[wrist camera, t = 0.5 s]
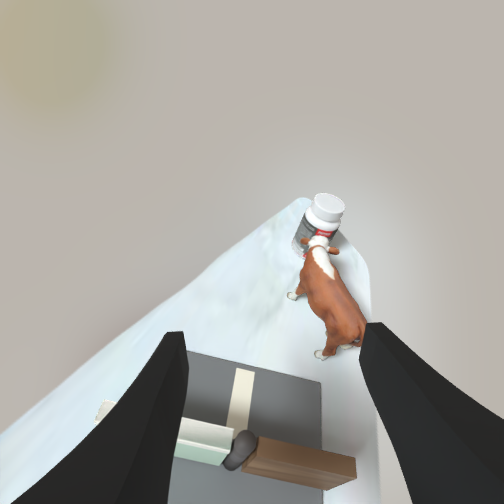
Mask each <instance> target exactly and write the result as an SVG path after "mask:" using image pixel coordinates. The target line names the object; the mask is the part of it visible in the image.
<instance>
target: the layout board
mask: <svg viewBox="0 0 504 504" xmlns="http://www.w3.org/2000/svg"><path fill="white" fill-rule="evenodd" d="M187 357H188V363H189V377H188V387H187V395H186V400H185V405H184V410H183V415H182V417H184V418H188V419H193V420H197V421H202V422H206V423H210V424H215V425H219V426H224V427H228V428H233V429H234V431H233V437H232V442H233V441H234V439H235V438H236V436H237V435H238V433H239V432H240V431H242V430H249V431H251V432H252V433H253V434H254V435H255V437H256V439H257V438H258V437H259V436H261V437H265V438H269V439H274V440H278V441H283V442H287V443H292V444H296V445H300V446H305V447H309V448H314V449H318V450H321V400H320V383H319V382H315V381H311V380H306V379H302V378H298V377H294V376H290V375H285V374H281V373H277V372H273V371H269V370H265V369H260V368H256V367H252V366H248V365H244V364H239V363H235V362H231V361H227V360H223V359H218V358H214V357H210V356H206V355H202V354H198V353H193V352H189V351H187ZM231 444H232V443H231ZM241 469H242V464H241V465H240V466H239V467H238V468H237V469H236V470H234V471H228V470H227V469H225V467H224V465H223V461H222V463H221V464H220V466H216V465H212V464H207V463H203V462H198V461H193V460H189V459H184V458H180V457H175V456H174V458H173V464H172V471H171V479H170V487H169V495H168V504H322V489H317V488H313V487H308V486H303V485H299V484H294V483H290V482H285V481H281V480H276V479H271V478H267V477H262V476H258V475H253V474H249V473H244V472H241Z"/></svg>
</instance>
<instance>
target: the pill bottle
mask: <svg viewBox="0 0 504 504" xmlns="http://www.w3.org/2000/svg"><path fill="white" fill-rule="evenodd" d="M344 210H345V205H344V203H343V202H342V201H341V200H340V199H339V198H338V197H336V196H334V195H331V194H328V193H320V194H317V195H316V196H315V198H314V200H313V202H312V204H311V206H309V207H308V208H307V209H306V211H305V213H304V216H303V218H302V220H301V222H300V225H299V227H298V229H297V232H296V234H295V236H294V238H293V241H292V248H293V250H294V252H295V253H296V254H297V255H298V256H299V257H301V258H302V259H305V258H306V255H307V252H308V250H309V245H303V244H301V243H300V239H301V238H305V237H306V238H309V239H310V240H311V239H312V237H313V236H316V235H317V236H320V235H321V236H324V237H326V238H327V239H328V241H329V244H330V242H331V240H332V238H333V237H334V235H335V233H336V231H337V230H338V228H339V226H340V218H341V217H342V215H343V212H344Z"/></svg>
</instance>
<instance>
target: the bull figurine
mask: <svg viewBox="0 0 504 504" xmlns="http://www.w3.org/2000/svg"><path fill="white" fill-rule="evenodd" d="M300 243H301V244H303V245H309V250H308V252H307V255H306V258H305V262H304V266H303V268H302V270H301V271H300V283H299V285H298V287H297V288H296V289H295V291H294V292H289V293H288V294H287V297H288V298H289V299H291V300H296V299H297V296H298V295H301V294H303V293H307V297H308V304H309V305H310V307H311V309H312V311H313V312H314V313H315V314H316V315H317V316H318V317H319V318H320V319H321V320H323V321H324V323H325V326H326V329H327V331H326V336H327V341H326V347H325V349H324V350H317V351H315V352H314V355H315V357H316V358H321V360H325V359H326V358H327V357H328V356H333V355H335V353H336V348H337V346H338V345H340V347H341V348H342V349H348V348H351V347H353V346H356V347H360V346H362V341H363V336H364V332H365V327H366V323H367V321H366V319H365V317H364V316H363V314H362V312H361V311H360V309H359V306H358V304H357V303H356V301H355V300H354V299H353V298H352V296H351V295H350V293H349V292H348V290H347V288H346V286H345V284H344V283H343V281H342V280H341V278H340V276H339V273H338V271H337V269H336V268H335V266H334V265H333V264H332V263H331V262H330V258H329V255H328V253H330V254H334V255H338V254H339V250H338V249H337V248H335V247H330V246H329V241H328V239H327V238H326V237H324V236H321V235H320V236H317V235H316V236H313V237H312V239H311V240H310V239H309V238H306V237H305V238H301V239H300ZM327 252H328V253H327ZM359 339H360V341H359V342H358V343H357V342H354V340H359Z"/></svg>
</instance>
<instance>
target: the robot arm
mask: <svg viewBox="0 0 504 504" xmlns="http://www.w3.org/2000/svg"><path fill="white" fill-rule="evenodd" d="M359 362H360V366H361V369H362V373H363V376H364V379H365V382H366V385H367V388H368V390H369V392H370V395H371V397H372V399H373V401H374V404H375V406H376V408H377V411H378V413H379V415H380V417H381V419H382V422H383V424H384V426H385V429H386V431H387V433H388V435H389V437H390V440H391V442H392V445H393V447H394V450H395V452H396V455H397V458H398V461H399V463H400V467H401V470H402V472H403V475H404V478H405V481H406V484H407V488H408V491H409V494H410V497H411V500H412V503H413V504H504V419H502V418H500V417H499V416H497V415H496V414H494V413H493V412H491V411H490V410H488V409H486V408H485V407H484V406H482V405H480V404H479V403H478V402H476V401H475V400H474V399H472V398H471V397H469V396H468V395H467V394H465V393H464V392H462V391H461V390H460V389H458V388H456V386H454V385H453V384H452V383H451V382H449V381H448V380H447V379H445V378H444V377H443V376H442V375H440V374H439V373H438V372H437V371H436V370H434V369H433V368H432V367H431V366H430V365H428V364H427V363H426V362H425V361H424V360H423V359H421V358H420V357H419V356H418V355H417V354H416V353H415V352H413V351H412V350H411V349H410V348H409V347H408V346H407V345H406V344H405V343H404V342H402V341H401V340H400V339H399V338H398V337H397V336H396V335H395V334H394V333H393V332H392V331H391V330H389V329H388V328H387V327H386V326H385V325H384V324H383V323H382V322H378V323H366V327H365V332H364V336H363V341H362V346H361V351H360V356H359ZM188 377H189V363H188V357H187V351H186V345H185V339H184V333H183V331H178V332H167V333H166V334H165V335H164V337H163V338H162V340H161V342H160V343H159V345H158V347H157V348H156V350H155V351H154V353H153V354H152V356H151V358H150V359H149V361H148V362H147V363H146V365H145V366H144V368H143V369H142V371H141V372H140V373H139V375H138V376H137V378H136V379H135V380H134V382H133V383H132V384H131V386H130V387H129V388H128V389H127V391H126V392H125V393H124V395H123V396H122V397H121V398H120V400H119V401H118V402H117V403H116V404H115V406H114V407H113V408H112V409H111V410H110V412H109V413H108V414H107V415H106V416H105V417H104V418H103V419H102V420H101V422H100V423H99V424H98V425H97V426H96V427H95V428H94V429H93V430H92V431H91V432H90V433H89V434H88V435H87V436H86V437H85V438H84V439H83V440H82V441H81V442H80V443H79V444H78V445H77V446H76V447H75V448H74V449H73V450H72V451H71V452H70V453H69V454H68V455H67V456H66V457H65V458H63V459H62V460H61V461H60V462H59V463H58V464H57V465H56V466H55V467H54V468H52V469H51V470H50V471H49V472H48V473H47V474H46V475H45V476H44V477H42V478H41V479H40V480H39V481H38V482H37V483H35V484H34V485H33V486H32V487H31V488H29V489H28V490H27V491H26V492H24V493H23V494H22V495H21V496H19V497H18V498H17V499H16V500H15V501H13V502H12V503H11V504H168V495H169V487H170V479H171V471H172V464H173V458H174V452H175V448H176V443H177V438H178V434H179V429H180V424H181V419H182V415H183V410H184V405H185V400H186V395H187V387H188Z"/></svg>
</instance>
